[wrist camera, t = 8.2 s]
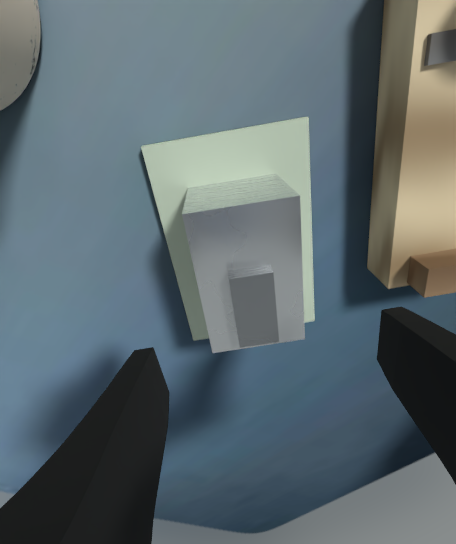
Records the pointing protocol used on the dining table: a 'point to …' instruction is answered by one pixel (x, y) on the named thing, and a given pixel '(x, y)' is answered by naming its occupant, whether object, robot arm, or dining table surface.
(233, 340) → the pale grey box
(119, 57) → the dining table surface
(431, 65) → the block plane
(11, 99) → the teacup with lid
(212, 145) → the mat
